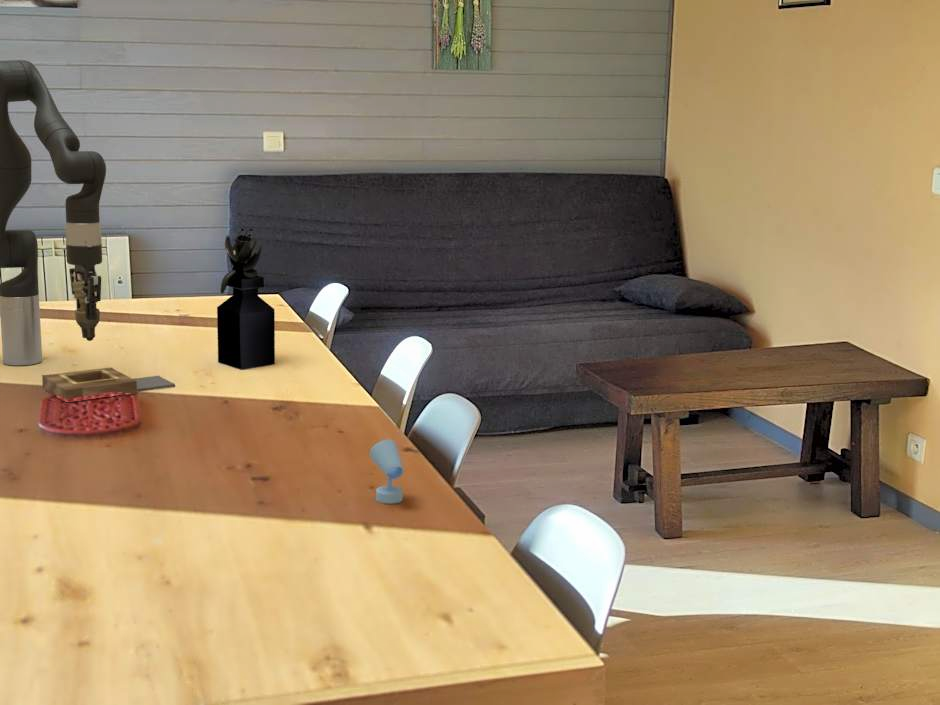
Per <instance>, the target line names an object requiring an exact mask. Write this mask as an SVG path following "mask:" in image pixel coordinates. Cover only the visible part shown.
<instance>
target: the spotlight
mask: <svg viewBox="0 0 940 705" xmlns="http://www.w3.org/2000/svg"><path fill="white" fill-rule="evenodd" d="M369 450H370V451H369V458H370V459H371V461H372V462H374V464H375V465H376V466H377V467H378V468H379V469H380V471H381V472H383V474H384V475H385V476H386V477H387V478H386V480H387V481H386V483H387V484H386V485H382V486H379V487H377V488H376V489H375V500H376V501H377V503H381V504H388V505H389V504H398V503H400V502H402V501H403V498H404V497H403V492H404V491H403V488H402V487H400V486H396V485H393V481H395V480H397V479H399V478H400V479H401V477H402V476H403V475H404V470H405V469H404V467H403V464H402V459H401V455H400V452H399V448H398V445H397V443H396V441H394V440H393V439H383V440H380V441H378V442H377V443H375V444H374V445H373V446H372V447H371V449H369Z"/></svg>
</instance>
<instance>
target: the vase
mask: <svg viewBox="0 0 940 705" xmlns="http://www.w3.org/2000/svg"><path fill="white" fill-rule="evenodd" d="M243 231H244V228H240V231H239V234H238V235H236V237H234V240H235V242H234V244H233V245H232V241H231V238H230V235H228V234H227V235H226V237H225V241H224V248H225V251H226V253H227V254H228V258H229V263H231V267H232V269H231V270H230V271H228V272H227V273H226V274H225V275H224V277H223V278H222V280H221V284H220V294H224V292H225V291H226V288H227V287H228V288H232V295H231V296H230V297H229V298H227V299H226V300H225V301H223V302H222V303H221V304H219V305H218V306H217V307H216V315H217V316H216V318H217V320H216V322H217V323H216V324H217V330H216V332H217V363H218V364H222V365H225V366H227V367H231V368H234V369H237V370H240V371H243V370H251V369H256V368H263V367H268V366H275V365H274V364H276V363H275V362H276V353H275V352H276V349H275V348H276V347H275V346H276V342H275V341H276V339H275V337H276V336H275V335H276V334H275V330H276V329H275V328H276V327H275V325H276V323H275V322H276V321H275V318H276V317H275V314H276V313H275V308H274V307H272V306H271V305H270V304H269V303H267V302H266V301H265V300H263V299H262V298H261V297H260V296H259V289H260V288H261V289H262V288H265V277H263V276H259V274H260V272H259V271H258V270H257V269H255V267H256V265H257V264H258V263H259V261H260V258H261V254H262V249H263V247H262V245H260V246H259V249H258V251H257V252H255V250H256V247H257V243H258V241H257V239H255V240H254V243H253V245H252V247H251V244H252V242H253V237H251V236H252V234H250V233H249V234H248V235H247V233H248V232H250V231H251V232H253V228H250V229H248V231H246V232H245V234H240V233H241V232H243ZM254 252H255V253H254Z"/></svg>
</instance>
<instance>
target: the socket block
mask: <svg viewBox="0 0 940 705" xmlns="http://www.w3.org/2000/svg"><path fill="white" fill-rule="evenodd" d="M41 378H42V389H44V390H45V391H47V392H48V393H49V394H51V395H53V396H54V395H60V396H62V397H63V398H65V399H71V398H77V397H83V396H90V395H97V394H103V393H109V392H122V393H131V394H132V395H138V392H137V381H136V380H134V379H135V378H131V377H130V376H128V375H126V374H124V373H122V372H121V371H120V370H119V371H118V370H117V369H115V368H113V367H102V368H94V369H85V370H76V371H69V372H58V373H52V374H44V375H43V374H42V377H41Z"/></svg>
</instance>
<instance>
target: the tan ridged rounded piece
mask: <svg viewBox="0 0 940 705" xmlns="http://www.w3.org/2000/svg"><path fill="white" fill-rule="evenodd" d="M83 283H84V285H85V282H84V280H83ZM72 285H73V286H74V288H73V291H74V292H75V294H74V295H73V297H74V298H75V299H79V303H80V308H78V309H77V308H76V309H75V310H74V315H75V322H76V324H77V326H78V327H80V329H81V335H82V338H83V339H86V341H88V342H92V341H94V338H95V337H96V332H95V331H96V327H97V325H99V322H100V319H101V318H100V317H101V315H100V313H101V312H100V311H101V310H100V309H99V308H98V307H96V310H97V318H96V319H95V320H87V319H86V308H85V297H84V294H83V293H82V292H81V281H76V282H73V283H72ZM85 288H86V289H88V286H85ZM92 296H93V293H92Z"/></svg>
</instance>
